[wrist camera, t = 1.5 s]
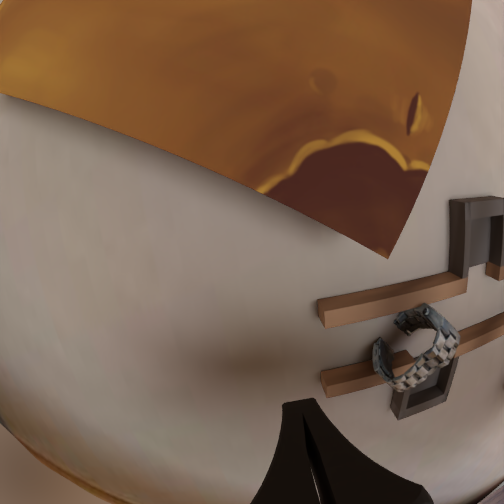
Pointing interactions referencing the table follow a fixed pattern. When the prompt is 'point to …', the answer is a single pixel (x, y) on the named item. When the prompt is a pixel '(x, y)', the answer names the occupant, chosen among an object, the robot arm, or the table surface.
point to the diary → (259, 91)
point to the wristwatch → (426, 362)
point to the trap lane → (427, 291)
